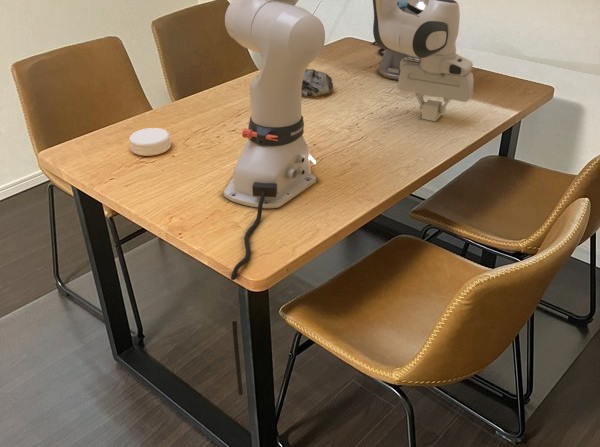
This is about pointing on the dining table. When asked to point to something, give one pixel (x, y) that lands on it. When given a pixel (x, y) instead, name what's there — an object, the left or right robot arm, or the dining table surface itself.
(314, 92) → the rock
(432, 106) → the light grey cube
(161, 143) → the white round disc
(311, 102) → the dining table surface
